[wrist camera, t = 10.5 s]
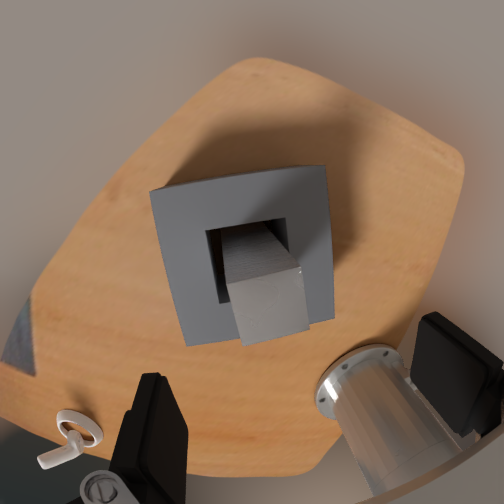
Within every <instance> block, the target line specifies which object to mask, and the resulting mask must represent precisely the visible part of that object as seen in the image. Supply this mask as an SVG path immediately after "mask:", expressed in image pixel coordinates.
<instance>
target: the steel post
mask: <svg viewBox="0 0 504 504" xmlns="http://www.w3.org/2000/svg"><path fill="white" fill-rule="evenodd" d="M220 230H221V240H222V250H223V259H224V268H225V277H226V285H227V289H228V293H229V297H230V301H231V305H232V308H233V312H234V316H235V320H236V324H237V327H238V331H239V335H240V338H241V342H242V346H247V345H251V344H255V343H260V342H264V341H268V340H272V339H276V338H280V337H284V336H287V335H291V334H295V333H299V332H302V331H306V330H309V329H310V328H309V320H308V312H307V305H306V297H305V290H304V283H303V276H302V269H301V266H300V265H299V264H298V263H297V261H296V260H295V259H294V258H293V257H292V256H291V254H290V253H289V252H288V251H287V250H286V249H285V248H284V246H283V245H282V244H281V243H280V242H279V241H278V240H277V238H276V237H275V236H274V235H273V234H272V233H271V232H270V230H269V229H268V228H267V227H266V226H265V225H264V224H263V222H262V221H259V222H253V223H246V224H240V225H234V226H228V227H222V228H220Z"/></svg>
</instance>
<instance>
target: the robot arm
mask: <svg viewBox="0 0 504 504" xmlns="http://www.w3.org/2000/svg"><path fill="white" fill-rule="evenodd" d="M403 366H404V365H403V359H402V357H401V356H400V354H399V353H398V352H397V351H396V350H395V349H394V348H392V347H391V346H388V345H385V344H372V345H367V346H363V347H360V348H358V349H355V350H353V351H351V352H349V353H348V354H346V355H344V356H343V357H341V358H340V359H339V360H337V361H336V362H335V363H334V364H332V365H331V367H330V368H329V369H328V370H327V371H326V372H325V373H324V374H323V376H322V377H321V379H320V380H319V382H318V384H317V387H316V390H315V397H314V399H315V403H316V406H317V408H318V410H319V412H320V413H321V414H322V415H323V416H325V417H327V418H330V419H333V420H337V421H338V423H339V426H340V428H341V430H342V432H343V434H344V436H345V438H346V440H347V442H348V444H349V446H350V448H351V450H352V453H353V455H354V457H355V459H356V461H357V463H358V465H359V467H360V469H361V471H362V473H363V475H364V477H365V480H366V482H367V484H368V486H369V488H370V490H371V492H372V494H373V496H374V497H372V498H370V499H367V500H364V501H362V502H359V503H356V504H504V370H503V369H502V366H503V361H502V360H500V359H499V358H498V357H497V356H495V355H494V354H493V353H491V352H490V351H489V350H487V349H486V348H485V347H484V346H482V345H481V344H480V343H479V342H477V341H476V340H474V339H473V338H472V337H470V336H469V335H468V334H467V333H465V332H464V331H462V330H461V329H460V328H459V327H457V326H456V325H455V324H453V323H452V322H451V321H449V320H448V319H446V318H445V317H444V316H442V315H441V314H440V313H438V312H432V313H429V314H426V315H424V316H423V317H422V319H421V321H420V322H419V325H418V332H417V338H416V344H415V350H414V355H413V361H412V366H411V369H409V370H408V369H405V368H404V367H403ZM417 389H419V391H420V392H421V393H422V394H423V395H424V396H425V398H426V399H427V400H428V401H429V402H430V404H431V405H432V406H433V407H434V408H435V410H436V411H437V412H438V413H439V414H440V415H441V417H442V418H443V419H444V421H445V422H446V423H447V424H448V425H449V427H450V428H451V429H452V430H453V431H454V432H455V433H459V435H460V436H461V437H462V438H463V437H464V436H466V435H467V434H469V433H471V432H472V430H473V429H475V430H476V442H475V443H474V444H473V445H472V446H470V447H469V448H467V449H466V450H464V451H462V450H461V449H460V448H459V446H458V445H457V444H456V442H455V441H454V440H453V439H452V437H451V436H450V435H449V434H448V432H447V431H446V430H445V429H444V427H443V426H442V425H441V423H440V422H439V421H438V420H437V419H436V417H435V416H434V415H433V414H432V412H431V411H430V410H429V409H428V407H427V406H426V405H425V404H424V402H423V401H422V400H421V399H420V397H419V396H418V395H417V394H416V393H415V391H414V390H417ZM187 450H188V428H187V425H186V423H185V420H184V418H183V416H182V414H181V411H180V409H179V407H178V404H177V402H176V400H175V397H174V395H173V393H172V390H171V388H170V385H169V383H168V380H167V378H166V377H165V376H161V374H160V373H158V372H157V373H144V374H142V376H141V379H140V382H139V385H138V389H137V392H136V395H135V398H134V402H133V405H132V408H131V410H128V411H126V413H125V415H124V418H123V421H122V424H121V428H120V431H119V435H118V438H117V441H116V445H115V448H114V452H113V456H112V459H111V463H110V467H109V470H108V471H105V470H101V471H95V472H92V473H91V474H89V475H88V476H86V477H85V478H84V480H83V481H82V483H81V486H80V494H81V496H80V497H78V498H76V499H75V500H73V501H71V502H69V503H67V504H185V495H186V469H187Z"/></svg>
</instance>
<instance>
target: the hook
mask: <svg viewBox="0 0 504 504" xmlns="http://www.w3.org/2000/svg"><path fill="white" fill-rule="evenodd" d="M65 421H67V422H72V423H75V424H77V425H80V426H81V427H83V428H85V429H86V430H87V431H88V432H90V433H91V434H92V436H93V437H94V440H95V441H87V440H83V438H82V436H81V434H80V433H79V432H78V431H76V430H70V431H69V432H68V431H67V430H66V429H65V428H64V427H63V425H62V424H61V423H62V422H65ZM57 425H58V429H59V430H60V432H61V433H62V434H63V435H64V436H65V437H66V438H67V441H68V443H67V445H65V446H63V447H60V448H57V449H55V450H52V451H49V452H47V453H44V454H42V455H39V456H38V457H37V459H38V461H39V464H40V465H41V467H42V468H43V469H48V468H50V467H53V466H56V465H58V464H61V463H63V462H66V461H68V460H71V459H73V458H75V457H77V456H78V455H80V454H82V453H83V450H84V447H93V446H95V445H97V444H98V443H100V442H101V440H102V439H103V432H102V430H101V429H100V427H99V426H98V425H97V424H96V423H95V422H94V421H93V420H91V419H90V418H88V417H87V416H85V415H83V414H81V413H79V412H76V411H73V410H61V411H59V412H58V414H57Z"/></svg>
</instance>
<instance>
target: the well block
mask: <svg viewBox="0 0 504 504" xmlns="http://www.w3.org/2000/svg"><path fill="white" fill-rule="evenodd" d="M149 194H150V200H151V205H152V210H153V215H154V220H155V225H156V230H157V235H158V239H159V244H160V248H161V253H162V257H163V261H164V265H165V270H166V274H167V278H168V282H169V286H170V290H171V293H172V297H173V301H174V305H175V308H176V312H177V316H178V319H179V323H180V326H181V329H182V333H183V336H184V340H185V343H186V346H194V345H201V344H208V343H214V342H221V341H227V340H233V339H239V338H240V335H239V331H238V327H237V324H236V320H235V316H234V312H233V308H232V305H231V301H230V297H229V293H228V289H227V285H226V277H225V274H221V275H218V273H217V268H216V263H215V257H214V252H213V246H212V241H211V235H210V230H211V229H216V228H222V227H228V226H234V225H240V224H246V223H253V222H259V221H265V220H271V222H272V230H273V235H274V236H275V237H276V238H277V240H278V241H279V242H280V243H281V244H282V245H283V246H284V248H285V249H286V250H287V251H288V252H289V253H290V254H291V256H292V257H293V258H294V259H295V260H296V261H297V263H298V264H299V265H300V266H301V269H302V276H303V283H304V290H305V297H306V305H307V312H308V320H309V324H313V323H317V322H322V321H326V320H330V319H334V318H335V313H334V275H333V253H332V237H331V222H330V210H329V199H328V188H327V179H326V169H325V165H299V166H290V167H281V168H273V169H265V170H257V171H250V172H243V173H237V174H230V175H224V176H218V177H211V178H206V179H200V180H194V181H189V182H184V183H178V184H173V185H168V186H164V187H161V188H158V189H155V190H153V191H150V192H149Z"/></svg>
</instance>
